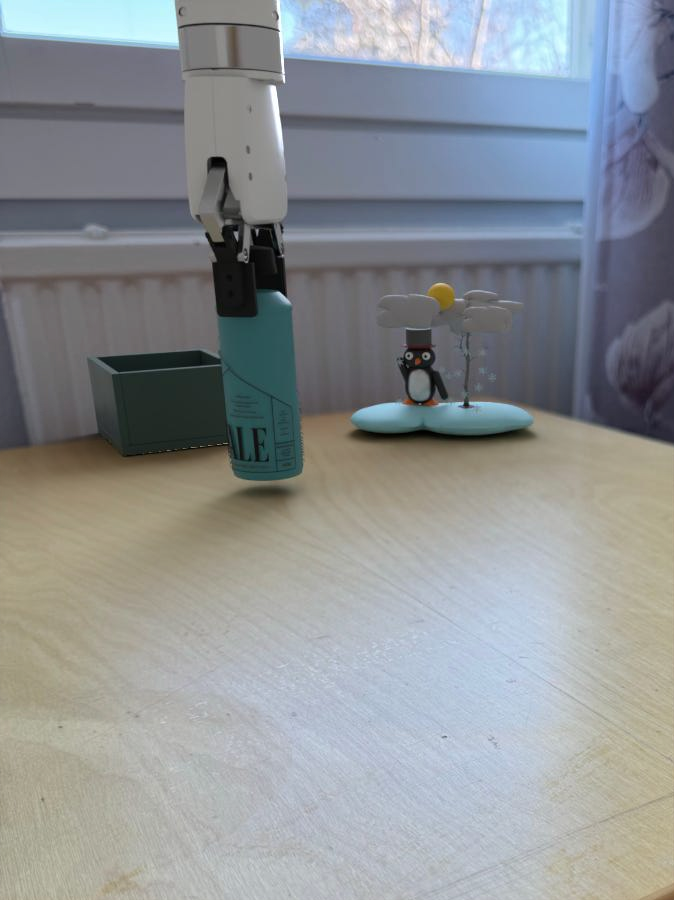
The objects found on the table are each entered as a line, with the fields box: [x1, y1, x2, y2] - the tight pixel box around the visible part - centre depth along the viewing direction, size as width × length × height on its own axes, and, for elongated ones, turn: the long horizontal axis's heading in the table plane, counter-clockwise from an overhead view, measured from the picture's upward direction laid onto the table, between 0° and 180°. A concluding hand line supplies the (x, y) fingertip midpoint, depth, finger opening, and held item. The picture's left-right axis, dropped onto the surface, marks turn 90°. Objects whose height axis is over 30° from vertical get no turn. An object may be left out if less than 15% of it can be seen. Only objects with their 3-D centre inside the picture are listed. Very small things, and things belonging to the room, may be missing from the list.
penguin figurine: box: [350, 282, 535, 436], centre depth 107 cm, size 20×11×15 cm, turn 87°
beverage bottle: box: [214, 245, 306, 482], centre depth 84 cm, size 6×7×20 cm
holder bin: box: [86, 348, 229, 457], centre depth 105 cm, size 13×13×8 cm
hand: (253, 309), depth 82 cm, fingers closed on beverage bottle, 6 cm apart
